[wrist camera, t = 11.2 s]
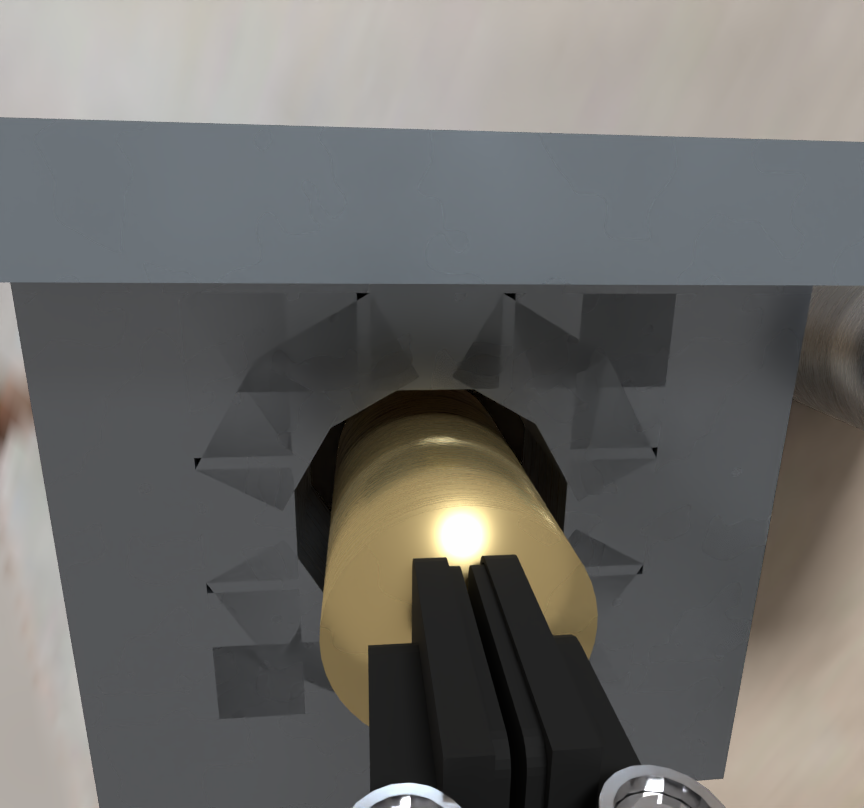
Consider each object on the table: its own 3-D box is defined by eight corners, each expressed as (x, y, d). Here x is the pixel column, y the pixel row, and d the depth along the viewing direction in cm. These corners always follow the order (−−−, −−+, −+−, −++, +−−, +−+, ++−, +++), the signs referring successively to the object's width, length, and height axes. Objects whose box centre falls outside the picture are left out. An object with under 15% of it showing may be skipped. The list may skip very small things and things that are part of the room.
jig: (658, 676, 21) (767, 848, 16) (153, 707, 20) (67, 912, 14) (730, 157, 17) (922, 130, 11) (78, 141, 15) (-95, 99, 9)
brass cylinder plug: (503, 376, 18) (609, 503, 10) (496, 527, 19) (585, 739, 12) (334, 378, 17) (314, 511, 10) (339, 533, 19) (324, 757, 11)
